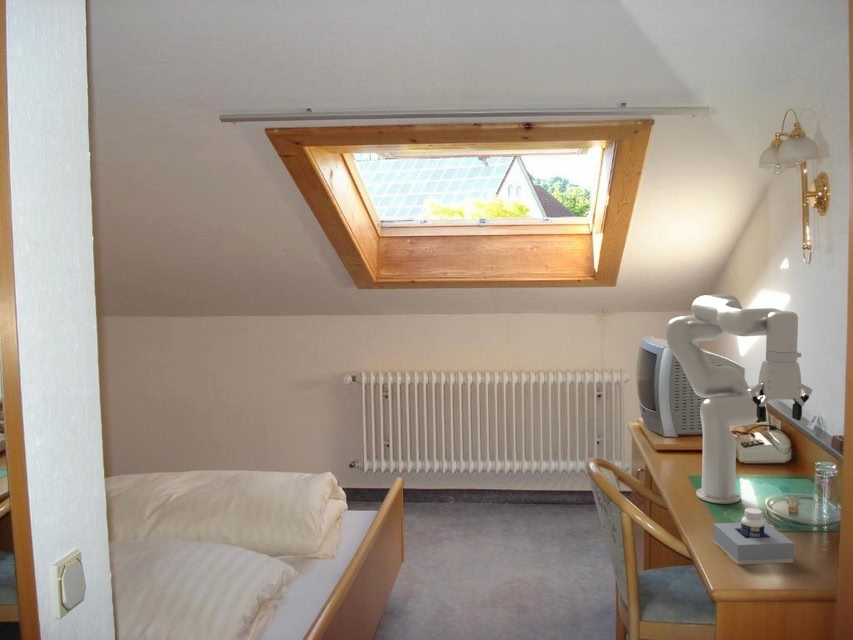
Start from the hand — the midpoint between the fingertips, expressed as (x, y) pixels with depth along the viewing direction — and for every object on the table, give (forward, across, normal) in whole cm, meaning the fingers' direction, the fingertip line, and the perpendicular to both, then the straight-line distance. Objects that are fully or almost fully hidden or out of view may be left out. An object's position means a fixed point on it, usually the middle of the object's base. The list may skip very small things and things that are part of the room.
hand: (778, 419), depth 202 cm
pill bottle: (+30, +14, +15) cm, 36 cm away
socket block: (+30, +14, +15) cm, 37 cm away
